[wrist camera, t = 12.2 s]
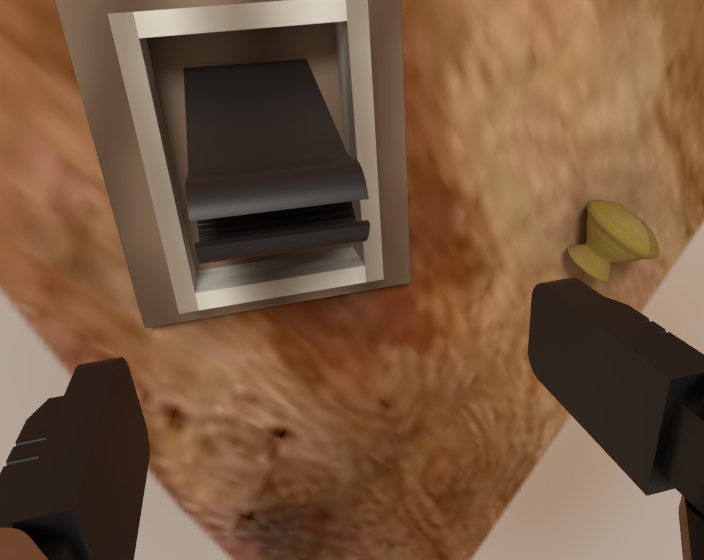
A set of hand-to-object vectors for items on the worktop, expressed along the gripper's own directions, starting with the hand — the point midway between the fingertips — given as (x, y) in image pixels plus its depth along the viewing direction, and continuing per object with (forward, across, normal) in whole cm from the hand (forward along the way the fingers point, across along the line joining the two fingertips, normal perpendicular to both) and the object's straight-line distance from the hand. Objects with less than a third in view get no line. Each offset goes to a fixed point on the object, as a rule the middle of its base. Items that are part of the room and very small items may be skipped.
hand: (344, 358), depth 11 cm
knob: (+22, -21, +8) cm, 31 cm away
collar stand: (+22, 0, 0) cm, 22 cm away
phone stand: (+21, 0, 0) cm, 21 cm away
